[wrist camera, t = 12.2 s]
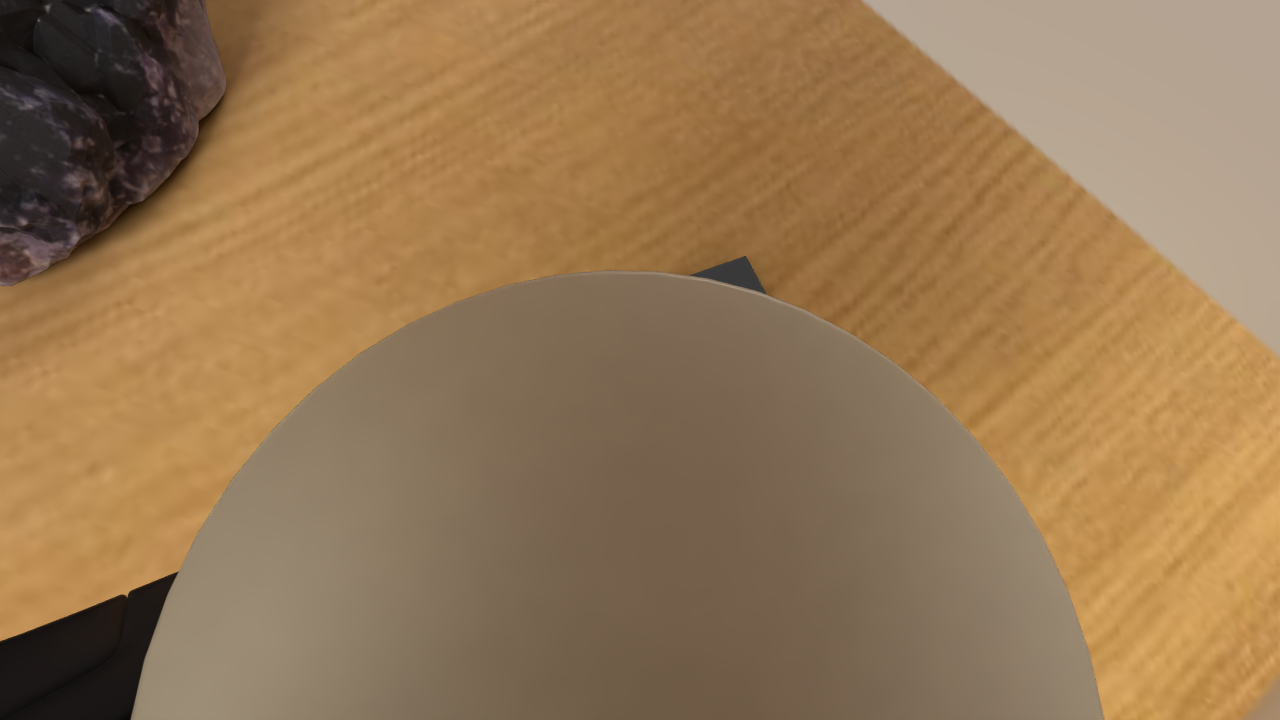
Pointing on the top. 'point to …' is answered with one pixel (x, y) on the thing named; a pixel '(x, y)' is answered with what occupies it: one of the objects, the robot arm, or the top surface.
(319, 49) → the top surface
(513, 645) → the spool
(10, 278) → the crystal cluster
